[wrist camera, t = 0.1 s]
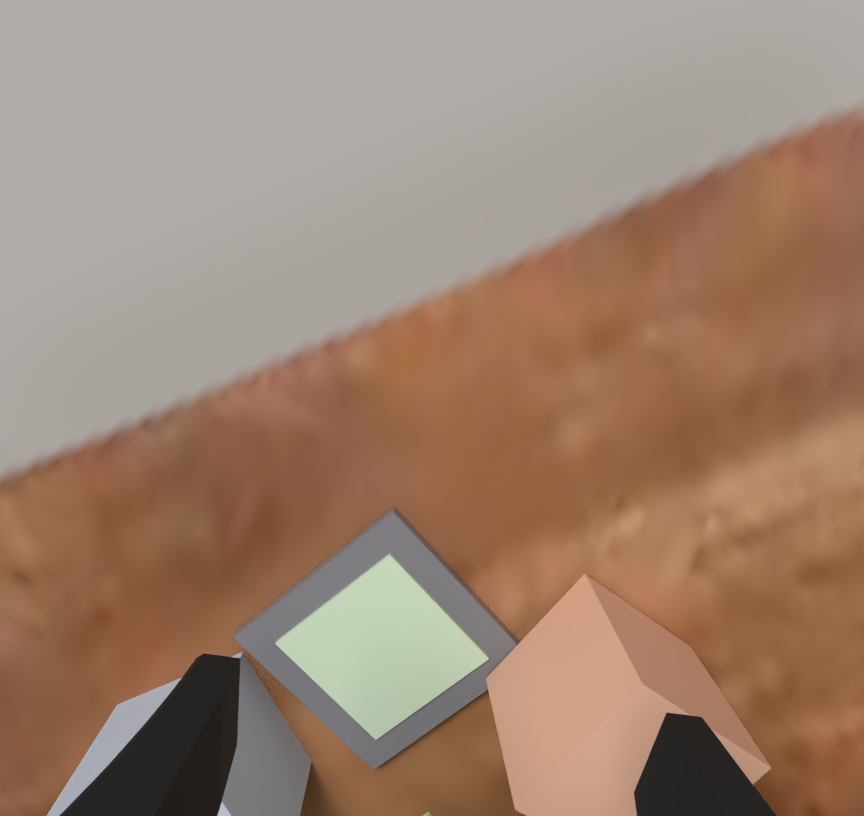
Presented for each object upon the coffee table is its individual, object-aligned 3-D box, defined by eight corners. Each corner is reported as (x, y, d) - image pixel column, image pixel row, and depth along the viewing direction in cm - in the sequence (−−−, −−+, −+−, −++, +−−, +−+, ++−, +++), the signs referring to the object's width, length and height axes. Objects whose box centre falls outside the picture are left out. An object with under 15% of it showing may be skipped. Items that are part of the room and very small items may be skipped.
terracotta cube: (592, 742, 24) (645, 880, 20) (485, 678, 23) (514, 809, 18) (690, 646, 23) (771, 767, 19) (584, 573, 22) (642, 683, 17)
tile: (374, 761, 25) (373, 773, 24) (236, 631, 23) (232, 640, 23) (529, 651, 23) (531, 662, 23) (393, 506, 22) (393, 513, 21)
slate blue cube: (191, 807, 25) (135, 947, 20) (118, 702, 24) (40, 825, 19) (311, 759, 25) (283, 891, 20) (243, 650, 23) (195, 763, 19)
